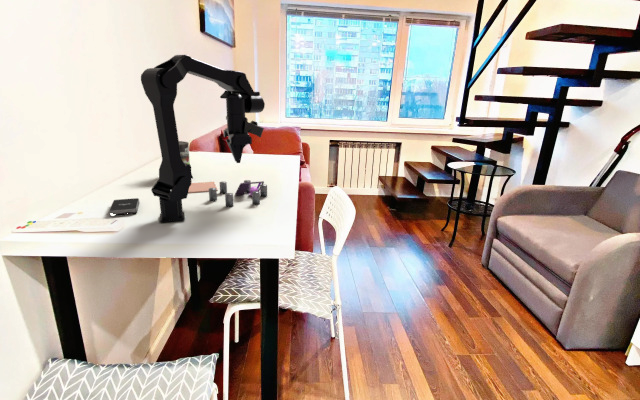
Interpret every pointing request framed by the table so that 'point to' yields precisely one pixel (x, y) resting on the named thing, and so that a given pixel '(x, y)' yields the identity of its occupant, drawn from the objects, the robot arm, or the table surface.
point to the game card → (244, 186)
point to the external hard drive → (124, 206)
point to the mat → (201, 187)
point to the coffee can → (184, 151)
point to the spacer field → (229, 196)
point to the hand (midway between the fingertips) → (237, 162)
